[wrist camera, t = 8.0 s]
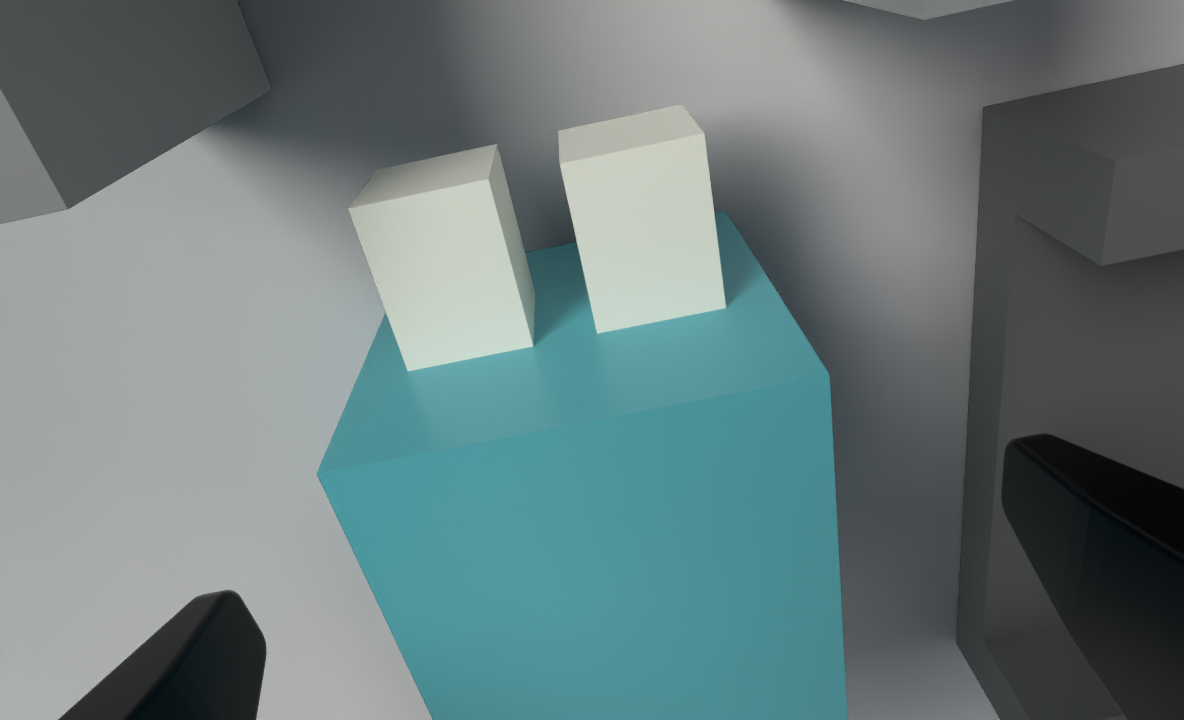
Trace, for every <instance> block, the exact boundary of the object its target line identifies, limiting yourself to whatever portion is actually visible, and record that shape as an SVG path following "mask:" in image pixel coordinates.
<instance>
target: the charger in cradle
mask: <svg viewBox="0 0 1184 720" xmlns="http://www.w3.org/2000/svg"><path fill="white" fill-rule="evenodd" d="M1041 433H1047V434H1051V435H1054V436H1056V437H1059V438H1061V439H1064V440H1066V441H1069V442H1071V443H1073V444H1076V445H1078V446H1081V447H1083V448H1086V449H1088V450H1091V451H1093V452H1095V453H1098V454H1100V455H1103V456H1105V457H1108V458H1110V459H1112V460H1115V461H1117V462H1120V463H1122V464H1125V465H1127V466H1130V467H1132V468H1134V469H1137V470H1139V471H1142V472H1144V473H1147V474H1149V475H1151V476H1154V477H1156V478H1159V479H1161V480H1164V481H1166V482H1168V483H1171V484H1173V485H1176V486H1178V487H1181V488H1183V489H1184V64H1182V65H1177V66H1173V67H1168V68H1163V69H1159V70H1154V71H1149V72H1145V73H1140V74H1135V75H1131V76H1126V77H1121V78H1117V79H1112V80H1107V81H1103V82H1098V83H1093V84H1089V85H1084V86H1079V87H1075V88H1070V89H1065V90H1061V91H1056V92H1051V93H1047V94H1042V95H1037V96H1033V97H1028V98H1023V99H1019V100H1014V101H1009V102H1005V103H1000V104H995V105H991V106H986V107H983V126H982V146H981V165H980V185H979V205H978V225H977V245H976V265H975V285H974V304H973V324H972V344H971V364H970V384H969V404H968V423H967V443H966V463H965V483H964V503H963V523H962V543H961V562H960V582H959V602H958V622H957V642H956V643H957V645H958V647H959V649H960V650H961V652H962V654H963V656H964V657H965V659H966V661H967V662H968V664H969V666H970V668H971V669H972V671H973V673H974V675H975V676H976V678H977V680H978V682H979V683H980V685H981V687H982V689H983V690H984V692H985V694H986V696H987V697H988V699H989V701H990V702H991V704H992V706H993V708H994V709H995V711H996V713H997V715H998V716H999V718H1000V720H1126V718H1125V717H1124V716H1123V714H1122V713H1121V711H1120V710H1119V708H1118V707H1117V705H1116V704H1115V702H1114V701H1113V699H1112V698H1111V696H1110V695H1109V694H1108V692H1107V691H1106V689H1105V688H1104V686H1103V685H1102V683H1101V682H1100V680H1099V679H1098V677H1097V676H1096V674H1095V673H1094V672H1093V670H1092V669H1091V667H1090V666H1089V664H1088V663H1087V661H1086V660H1085V658H1084V657H1083V655H1082V654H1081V652H1080V651H1079V649H1078V648H1077V646H1076V644H1075V643H1074V641H1073V640H1072V638H1071V637H1070V635H1069V633H1068V631H1067V630H1066V628H1065V626H1064V624H1063V623H1062V621H1061V619H1060V617H1059V616H1058V614H1057V612H1056V610H1055V608H1054V606H1053V604H1052V602H1051V601H1050V599H1049V597H1048V595H1047V593H1046V591H1045V589H1044V587H1043V586H1042V584H1041V582H1040V580H1039V578H1038V576H1037V574H1036V572H1035V571H1034V569H1033V567H1032V565H1031V563H1030V561H1029V559H1028V557H1027V556H1026V554H1025V552H1024V550H1023V548H1022V546H1021V544H1020V542H1019V541H1018V539H1017V537H1016V535H1015V533H1014V531H1013V529H1012V527H1011V525H1010V524H1009V522H1008V520H1007V518H1006V516H1005V513H1004V510H1003V507H1002V503H1001V486H1002V473H1003V460H1004V451H1005V447H1006V445H1007V443H1008V442H1009V441H1010V440H1012V439H1014V438H1019V437H1024V436H1030V435H1035V434H1041Z"/></svg>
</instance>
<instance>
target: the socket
mask: <svg viewBox="0 0 1184 720" xmlns="http://www.w3.org/2000/svg"><path fill="white" fill-rule="evenodd" d="M843 1H847V2H851V3H855V4H859V5H864V6H868V7H872V8H876V9H880V10H885V11H889V12H893V13H897V14H901V15H906V16H910V17H914V18H918V19H922V20H927V19H932V18H936V17H941V16H945V15H950V14H954V13H959V12H963V11H968V10H972V9H977V8H982V7H986V6H991V5H995V4H1000V3H1004V2H1009V1H1013V0H843ZM271 90H272V88H271V85H270V83H269V80H268V78H267V75H266V72H265V70H264V67H263V65H262V62H261V60H260V57H259V55H258V52H257V50H256V47H255V44H254V42H253V39H252V37H251V34H250V32H249V29H248V27H247V24H246V22H245V19H244V16H243V14H242V11H241V9H240V6H239V4H238V1H237V0H0V224H3V223H8V222H12V221H17V220H21V219H26V218H30V217H35V216H39V215H44V214H49V213H53V212H58V211H62V210H67V209H69V208H71V207H73V206H74V205H76V204H78V203H79V202H81V201H83V200H85V199H86V198H88V197H90V196H91V195H93V194H95V193H96V192H98V191H100V190H102V189H103V188H105V187H107V186H108V185H110V184H112V183H114V182H115V181H117V180H119V179H120V178H122V177H124V176H126V175H127V174H129V173H131V172H132V171H134V170H136V169H138V168H139V167H141V166H143V165H144V164H146V163H148V162H149V161H151V160H153V159H155V158H156V157H158V156H160V155H161V154H163V153H165V152H167V151H168V150H170V149H172V148H173V147H175V146H177V145H179V144H180V143H182V142H184V141H185V140H187V139H189V138H191V137H192V136H194V135H196V134H197V133H199V132H201V131H202V130H204V129H206V128H208V127H209V126H211V125H213V124H214V123H216V122H218V121H220V120H221V119H223V118H225V117H226V116H228V115H230V114H232V113H233V112H235V111H237V110H238V109H240V108H242V107H244V106H245V105H247V104H249V103H250V102H252V101H254V100H255V99H257V98H259V97H261V96H262V95H264V94H266V93H267V92H269V91H271Z"/></svg>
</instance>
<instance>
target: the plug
mask: <svg viewBox="0 0 1184 720" xmlns="http://www.w3.org/2000/svg"><path fill="white" fill-rule="evenodd" d="M558 139H559V160H560V168H561V172H562V177H563V181H564V186H565V190H566V195H567V199H568V204H569V209H570V213H571V218H572V222H573V227H574V231H575V236H576V240H577V242H574V243H569V244H564V245H559V246H554V247H549V248H545V249H540V250H535V251H530V252H525V251H524V247H523V243H522V239H521V235H520V232H519V228H518V224H517V220H516V216H515V212H514V208H513V204H512V200H511V197H510V193H509V189H508V185H507V181H506V177H505V173H504V169H503V165H502V162H501V158H500V154H499V150H498V146H497V144H494V145H489V146H485V147H480V148H475V149H471V150H466V151H461V152H457V153H452V154H447V155H442V156H438V157H433V158H428V159H424V160H419V161H414V162H410V163H405V164H400V165H396V166H391V167H386V168H382V169H377V170H376V171H375V172H374V173H373V175H372V176H371V178H370V179H369V180H368V182H367V183H366V184H365V186H364V187H363V189H362V190H361V191H360V193H359V194H358V195H357V197H356V198H355V200H354V201H353V202H352V204H351V205H350V207H349V208H348V210H349V213H350V216H351V218H352V221H353V224H354V227H355V229H356V232H357V235H358V238H359V240H360V243H361V246H362V248H363V251H364V254H365V257H366V259H367V262H368V265H369V267H370V270H371V273H372V276H373V278H374V281H375V284H376V286H377V289H378V292H379V295H380V297H381V300H382V303H383V305H384V308H385V311H386V313H385V315H384V318H383V320H382V322H381V325H380V327H379V329H378V332H377V334H376V336H375V339H374V341H373V343H372V346H371V348H370V350H369V353H368V355H367V357H366V360H365V362H364V364H363V367H362V369H361V371H360V374H359V376H358V378H357V381H356V383H355V385H354V388H353V390H352V392H351V395H350V397H349V399H348V402H347V404H346V406H345V409H344V411H343V413H342V416H341V418H340V420H339V423H338V425H337V428H336V430H335V432H334V435H333V437H332V439H331V442H330V444H329V446H328V449H327V451H326V453H325V456H324V458H323V460H322V463H321V465H320V467H319V470H318V472H317V476H318V478H319V480H320V482H321V484H322V486H323V488H324V490H325V493H326V495H327V497H328V499H329V501H330V503H331V505H332V507H333V509H334V512H335V514H336V516H337V518H338V520H339V522H340V524H341V526H342V529H343V531H344V533H345V535H346V537H347V539H348V541H349V543H350V545H351V548H352V550H353V552H354V554H355V556H356V558H357V560H358V562H359V565H360V567H361V569H362V571H363V573H364V575H365V577H366V579H367V581H368V584H369V586H370V588H371V590H372V592H373V594H374V596H375V598H376V600H377V603H378V605H379V607H380V609H381V611H382V613H383V615H384V617H385V620H386V622H387V624H388V626H389V628H390V630H391V632H392V634H393V636H394V639H395V641H396V643H397V645H398V647H399V649H400V651H401V653H402V655H403V658H404V660H405V662H406V664H407V666H408V668H409V670H410V672H411V675H412V677H413V679H414V681H415V683H416V685H417V687H418V689H419V691H420V694H421V696H422V698H423V700H424V702H425V704H426V706H427V708H428V710H429V713H430V715H431V717H432V719H433V720H848V718H847V699H846V680H845V660H844V641H843V622H842V602H841V583H840V564H839V545H838V525H837V506H836V487H835V467H834V448H833V429H832V410H831V390H830V374H829V373H828V371H827V370H826V368H825V367H824V365H823V363H822V362H821V360H820V359H819V357H818V356H817V354H816V352H815V351H814V349H813V348H812V346H811V345H810V343H809V341H808V340H807V338H806V337H805V335H804V333H803V332H802V330H801V329H800V327H799V326H798V324H797V322H796V321H795V319H794V318H793V316H792V315H791V313H790V311H789V310H788V308H787V307H786V305H785V304H784V302H783V300H782V299H781V297H780V296H779V294H778V292H777V291H776V289H775V288H774V286H773V285H772V283H771V281H770V280H769V278H768V277H767V275H766V274H765V272H764V270H763V269H762V267H761V266H760V264H759V263H758V261H757V259H756V258H755V256H754V255H753V253H752V252H751V250H750V248H749V247H748V245H747V244H746V242H745V240H744V239H743V237H742V236H741V234H740V233H739V231H738V229H737V228H736V226H735V225H734V223H733V222H732V220H731V218H730V217H729V215H728V214H727V212H726V211H724V212H719V213H714V207H713V199H712V190H711V182H710V174H709V166H708V158H707V150H706V142H705V134H704V132H703V131H702V130H701V128H700V127H699V126H698V124H697V123H696V122H695V120H694V119H693V118H692V117H691V115H690V114H689V113H688V111H687V110H686V109H685V108H684V106H683V105H682V104H681V105H676V106H672V107H667V108H662V109H658V110H653V111H648V112H644V113H639V114H634V115H629V116H625V117H620V118H615V119H611V120H606V121H601V122H597V123H592V124H587V125H583V126H578V127H573V128H569V129H564V130H559V131H558Z"/></svg>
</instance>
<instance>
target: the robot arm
mask: <svg viewBox="0 0 1184 720" xmlns="http://www.w3.org/2000/svg"><path fill="white" fill-rule="evenodd" d="M1001 503H1002V507H1003V510H1004V513H1005V516H1006V518H1007V520H1008V522H1009V524H1010V525H1011V527H1012V529H1013V531H1014V533H1015V535H1016V537H1017V539H1018V541H1019V542H1020V544H1021V546H1022V548H1023V550H1024V552H1025V554H1026V556H1027V557H1028V559H1029V561H1030V563H1031V565H1032V567H1033V569H1034V571H1035V572H1036V574H1037V576H1038V578H1039V580H1040V582H1041V584H1042V586H1043V587H1044V589H1045V591H1046V593H1047V595H1048V597H1049V599H1050V601H1051V602H1052V604H1053V606H1054V608H1055V610H1056V612H1057V614H1058V616H1059V617H1060V619H1061V621H1062V623H1063V624H1064V626H1065V628H1066V630H1067V631H1068V633H1069V635H1070V637H1071V638H1072V640H1073V641H1074V643H1075V644H1076V646H1077V648H1078V649H1079V651H1080V652H1081V654H1082V655H1083V657H1084V658H1085V660H1086V661H1087V663H1088V664H1089V666H1090V667H1091V669H1092V670H1093V672H1094V673H1095V674H1096V676H1097V677H1098V679H1099V680H1100V682H1101V683H1102V685H1103V686H1104V688H1105V689H1106V691H1107V692H1108V694H1109V695H1110V696H1111V698H1112V699H1113V701H1114V702H1115V704H1116V705H1117V707H1118V708H1119V710H1120V711H1121V713H1122V714H1123V716H1124V717H1125V718H1126V720H1184V489H1183V488H1181V487H1178V486H1176V485H1173V484H1171V483H1168V482H1166V481H1164V480H1161V479H1159V478H1156V477H1154V476H1151V475H1149V474H1147V473H1144V472H1142V471H1139V470H1137V469H1134V468H1132V467H1130V466H1127V465H1125V464H1122V463H1120V462H1117V461H1115V460H1112V459H1110V458H1108V457H1105V456H1103V455H1100V454H1098V453H1095V452H1093V451H1091V450H1088V449H1086V448H1083V447H1081V446H1078V445H1076V444H1073V443H1071V442H1069V441H1066V440H1064V439H1061V438H1059V437H1056V436H1054V435H1051V434H1047V433H1041V434H1035V435H1030V436H1024V437H1019V438H1014V439H1012V440H1010V441H1009V442H1008V443H1007V445H1006V447H1005V451H1004V460H1003V473H1002V486H1001ZM265 661H266V642H265V639H264V636H263V633H262V632H261V630H260V628H259V627H258V625H257V623H256V622H255V620H254V618H253V617H252V615H251V613H250V612H249V610H248V608H247V607H246V605H245V603H244V602H243V600H242V598H241V597H240V596H239V594H237V593H236V592H234V591H232V590H224V591H219V592H213V593H208V594H203V595H200V596H198V597H196V598H194V599H193V600H192V601H191V602H189V603H188V604H187V605H186V606H185V607H184V608H183V609H182V610H180V611H179V612H178V613H177V614H176V615H175V616H174V617H173V618H171V619H170V620H169V621H168V622H167V623H166V624H165V625H164V626H162V627H161V628H160V629H159V630H158V631H157V632H156V633H155V634H154V635H152V636H151V637H150V638H149V639H148V640H147V641H146V642H145V643H143V644H142V645H141V646H140V647H139V648H138V649H137V650H136V651H134V652H133V653H132V654H131V655H130V656H129V657H128V658H127V659H126V660H124V661H123V662H122V663H121V664H120V665H119V666H118V667H117V668H115V669H114V670H113V671H112V672H111V673H110V674H109V675H108V676H106V677H105V678H104V679H103V680H102V681H101V682H100V683H99V684H97V685H96V686H95V687H94V688H93V689H92V690H91V691H90V692H89V693H87V694H86V695H85V696H84V697H83V698H82V699H81V700H80V701H78V702H77V703H76V704H75V705H74V706H73V707H72V708H71V709H69V710H68V711H67V712H66V713H65V714H64V715H63V716H62V717H60V718H59V719H58V720H256V718H257V712H258V705H259V699H260V693H261V686H262V680H263V674H264V668H265Z"/></svg>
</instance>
